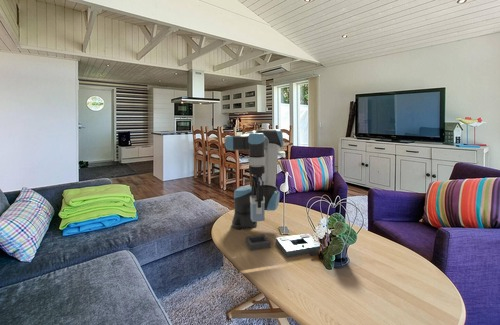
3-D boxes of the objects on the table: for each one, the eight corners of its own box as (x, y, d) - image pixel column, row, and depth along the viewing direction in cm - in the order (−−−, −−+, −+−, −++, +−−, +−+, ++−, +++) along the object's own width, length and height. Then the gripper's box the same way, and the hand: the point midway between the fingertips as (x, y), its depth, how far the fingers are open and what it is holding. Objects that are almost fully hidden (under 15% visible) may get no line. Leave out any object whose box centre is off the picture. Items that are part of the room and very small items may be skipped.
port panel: (275, 245, 130) (275, 236, 130) (308, 240, 135) (308, 232, 134) (286, 259, 117) (286, 249, 116) (322, 253, 122) (322, 244, 121)
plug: (250, 218, 129) (249, 195, 127) (262, 217, 131) (262, 194, 129) (252, 222, 125) (252, 198, 123) (264, 220, 127) (264, 197, 125)
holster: (245, 243, 133) (245, 236, 133) (264, 240, 136) (264, 234, 135) (250, 252, 124) (250, 245, 123) (270, 249, 126) (270, 242, 126)
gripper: (244, 163, 131) (245, 207, 135) (254, 169, 114) (255, 219, 118) (258, 162, 133) (259, 205, 137) (270, 168, 116) (270, 217, 120)
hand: (257, 211), depth 128 cm, fingers closed on plug, 4 cm apart
